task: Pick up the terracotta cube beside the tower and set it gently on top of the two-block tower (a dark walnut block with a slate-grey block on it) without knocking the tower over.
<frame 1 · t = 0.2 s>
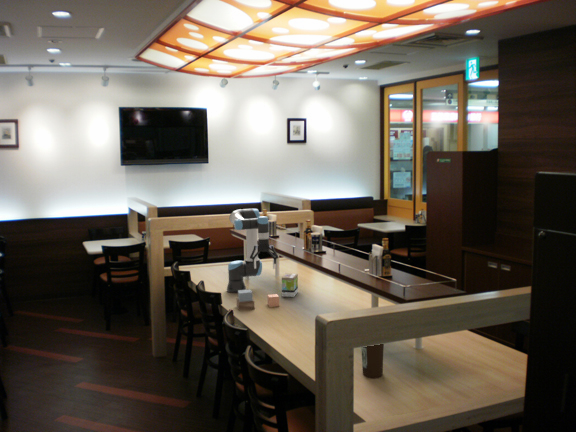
hand: (264, 268, 363), 27 cm above the table, tool pointing down, fingers open, 13 cm apart
terracotta cube: (273, 305, 367), on the table
brown coffee cup: (372, 374, 246), on the table
walnut block: (245, 308, 362), on the table, touching slate block
tea box: (290, 294, 395), on the table
slate block: (245, 299, 362), point 6 cm above the table, touching walnut block
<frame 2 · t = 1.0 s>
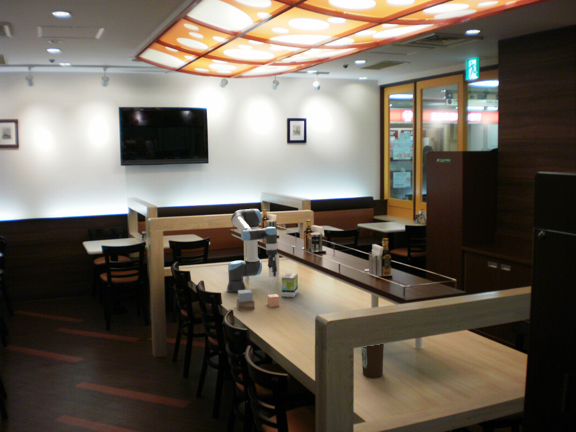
hand: (272, 278, 365), 19 cm above the table, tool pointing down, fingers open, 13 cm apart
walnut block: (245, 308, 362), on the table
slate block: (245, 299, 362), point 6 cm above the table
everything else where it was.
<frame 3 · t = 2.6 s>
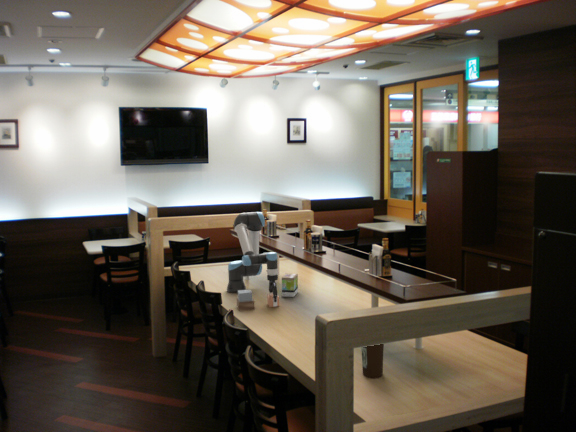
hand: (273, 303, 367), 1 cm above the table, tool pointing down, fingers open, 12 cm apart
walnut block: (245, 308, 362), on the table, touching slate block
slate block: (245, 299, 362), point 6 cm above the table, touching walnut block
everything else where it was.
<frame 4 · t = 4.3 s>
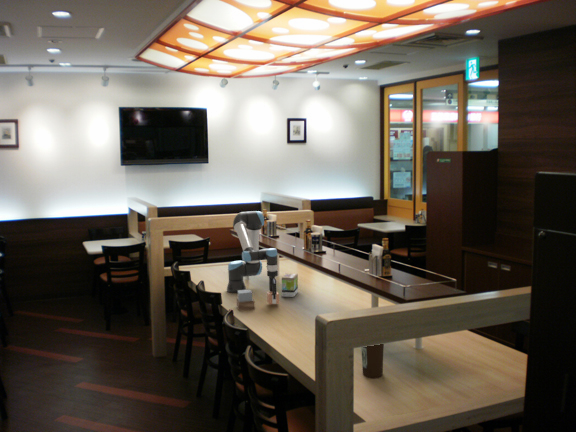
hand: (273, 301, 367), 2 cm above the table, tool pointing down, fingers closed on terracotta cube, 7 cm apart
terracotta cube: (273, 302, 367), point 2 cm above the table, touching gripper
everything else where it was.
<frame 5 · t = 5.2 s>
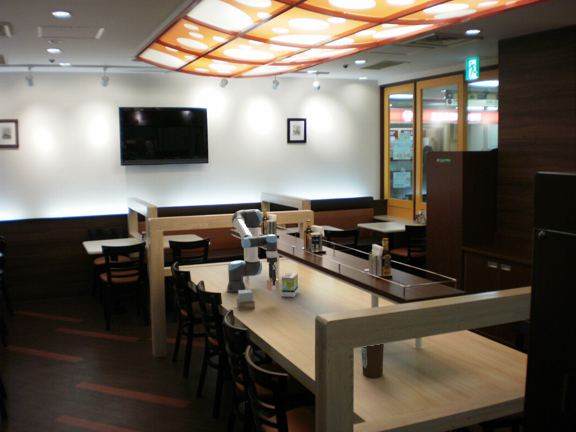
hand: (272, 288, 366), 12 cm above the table, tool pointing down, fingers closed on terracotta cube, 7 cm apart
terracotta cube: (272, 288, 366), point 12 cm above the table, touching gripper
everything else where it was.
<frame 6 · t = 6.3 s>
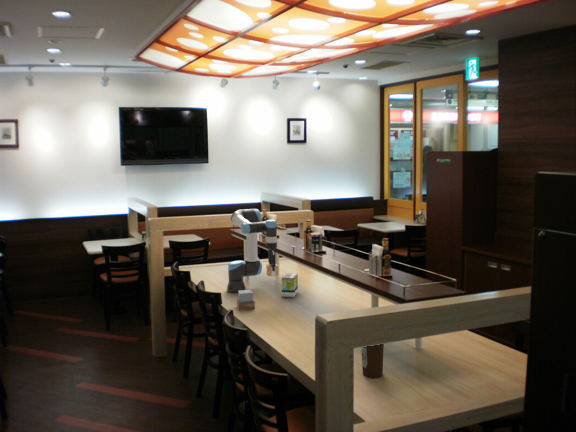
hand: (272, 274, 364), 22 cm above the table, tool pointing down, fingers closed on terracotta cube, 7 cm apart
terracotta cube: (272, 274, 365), point 22 cm above the table, touching gripper
everything else where it was.
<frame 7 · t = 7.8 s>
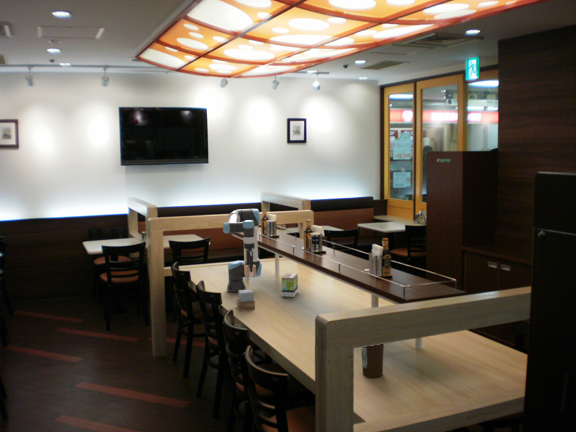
hand: (250, 275, 361), 23 cm above the table, tool pointing down, fingers closed on terracotta cube, 7 cm apart
terracotta cube: (250, 275, 361), point 23 cm above the table, touching gripper
walnut block: (245, 308, 362), on the table
slate block: (246, 299, 362), point 6 cm above the table
everything else where it was.
when the fingers open (14 cm above the table, at t = 10.7 s): terracotta cube drops 1 cm, resting on slate block.
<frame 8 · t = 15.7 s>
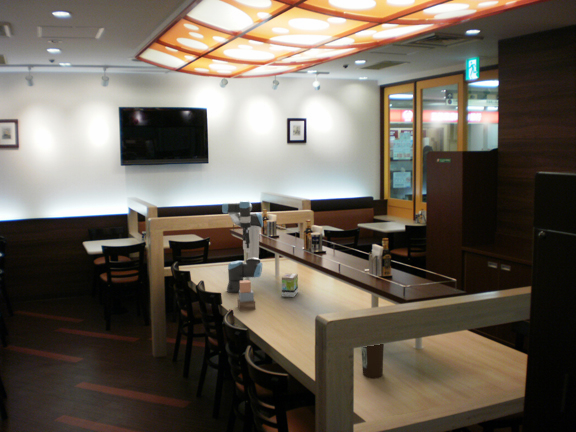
hand: (246, 250, 379), 37 cm above the table, tool pointing down, fingers open, 13 cm apart
terracotta cube: (245, 291, 361), point 12 cm above the table, touching slate block
walnut block: (246, 308, 362), on the table, touching slate block
slate block: (246, 299, 362), point 6 cm above the table, touching terracotta cube, walnut block
everything else where it was.
at the end: terracotta cube 0.5 cm off-centre on the slate block, point 6.0 cm above the slate block's base; slate block 0.2 cm from the walnut block (horizontally); slate block tilted 0° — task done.
